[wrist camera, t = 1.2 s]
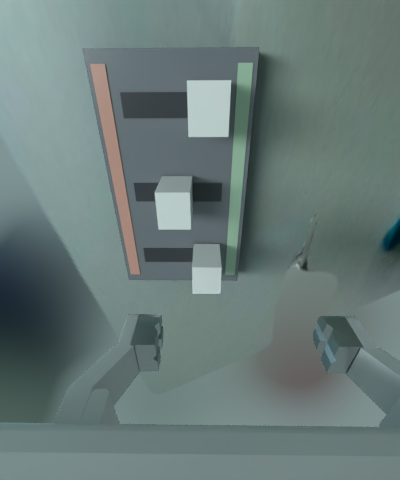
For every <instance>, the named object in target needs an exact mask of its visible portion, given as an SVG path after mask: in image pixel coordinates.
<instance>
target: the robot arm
mask: <svg viewBox="0 0 400 480" xmlns="http://www.w3.org/2000/svg"><path fill="white" fill-rule="evenodd" d="M317 322H318V325H319V326H317V327H316V328H315V329H314V332H313V340H314V344H315V347H316V349H317V350H318V351H319V352H320V353H321V354H322V356H321V361H322V363H323V365H324V367H325V369H326V372H327V373H344V374H347V376H348V377H349V378H350V379H351V380H353V382H354V383H355V384H356V385H357V386H358V387H359V388H361V390H362V391H363V392H364V393H365V394H367V396H368V397H369V398H370V399H371V400H372V401H373V402H375V404H376V405H378V407H379V408H381V409H382V411H384V413H386V416H385V417H384V419H383V420H382V421H381V422H380V425H379V426H380V427H336V426H335V427H334V426H331V427H330V426H247V425H156V424H152V425H151V424H119V420H118V417H117V414H116V411H115V409H114V405H115V404H116V402H117V401H118V400H119V399H120V397H121V396H122V395H123V393H124V392H125V391H126V389H127V388H128V387H129V386H130V384H131V383H132V382H133V380H134V379H135V378H136V376H137V375H138V374H139V371H159V365H160V359H161V355H160V350H161V349H162V345H163V326H161V325H162V315H146V314H128V316H127V317H126V320H125V323H124V326H123V330H122V333H121V336H120V339H119V342H118V345H114V346H113V347H112V348H111V349H110V350H108V351H107V352H106V353H105V354H104V355H103V356H102V357H101V358H100V359H99V360H98V361H97V362H95V363H94V364H93V365H92V366H91V367H90V368H89V369H88V370H87V371H86V372H85V373H83V374H82V375H81V376H80V377H79V378H78V379H77V380H76V381H75V382H74V383H73V384H72V385H70V386H69V388H68V390H67V392H66V394H65V396H64V399H63V401H62V403H61V405H60V408H59V410H58V412H57V414H56V417H55V419H54V421H53V423H0V480H400V361H399V360H397V359H396V358H394V357H393V356H391V355H390V354H389V353H387V352H386V351H384V350H383V349H381V348H377V347H376V345H375V344H374V343H373V341H372V340H371V338H370V337H369V335H368V334H367V332H366V331H365V329H364V328H363V326H362V325H361V323H360V322H359V320H358V319H357V318H356V317H355V316H321V317H319V318H318V321H317Z"/></svg>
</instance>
